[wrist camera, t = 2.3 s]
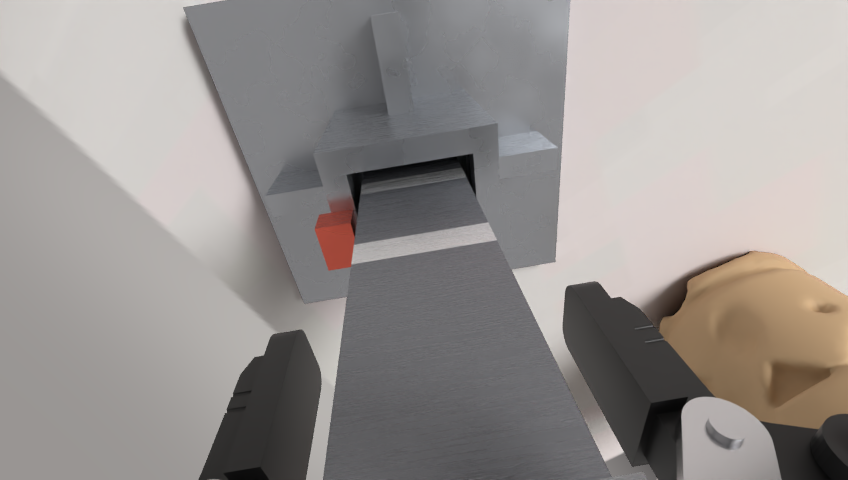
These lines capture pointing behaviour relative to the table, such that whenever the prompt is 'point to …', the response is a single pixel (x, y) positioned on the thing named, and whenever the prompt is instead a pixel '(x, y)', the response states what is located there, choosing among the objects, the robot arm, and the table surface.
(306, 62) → the stand
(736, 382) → the container
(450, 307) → the column
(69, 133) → the table surface
